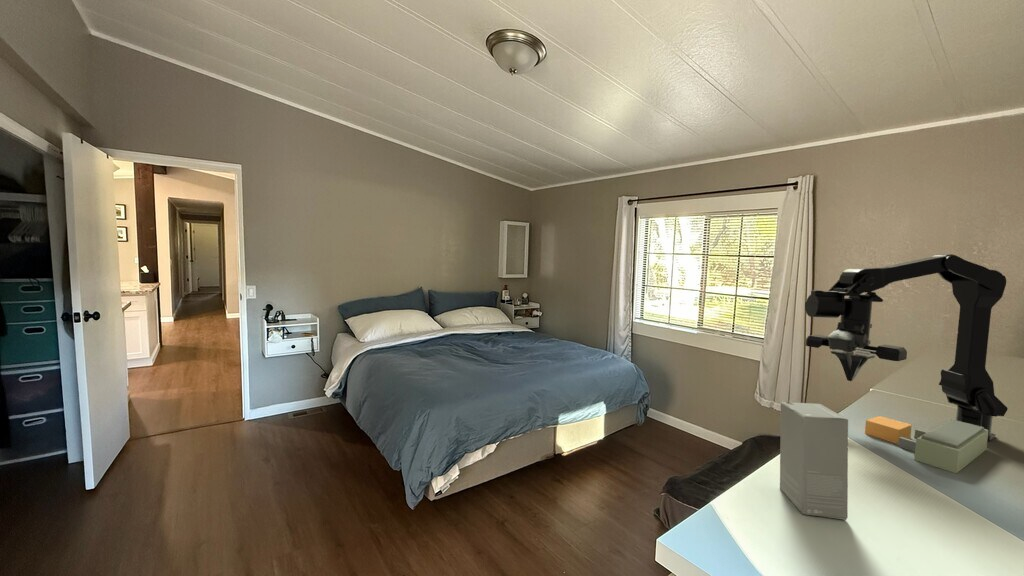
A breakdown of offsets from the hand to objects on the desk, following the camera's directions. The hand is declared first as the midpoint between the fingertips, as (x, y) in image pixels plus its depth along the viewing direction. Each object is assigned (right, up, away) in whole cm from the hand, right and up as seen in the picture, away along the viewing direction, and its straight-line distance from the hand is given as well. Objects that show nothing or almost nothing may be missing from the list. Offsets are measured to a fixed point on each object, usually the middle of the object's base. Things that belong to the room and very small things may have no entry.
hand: (850, 380), depth 102 cm
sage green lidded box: (+8, -12, -13) cm, 20 cm away
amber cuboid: (+4, -12, -6) cm, 14 cm away
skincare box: (-36, -12, -35) cm, 52 cm away
